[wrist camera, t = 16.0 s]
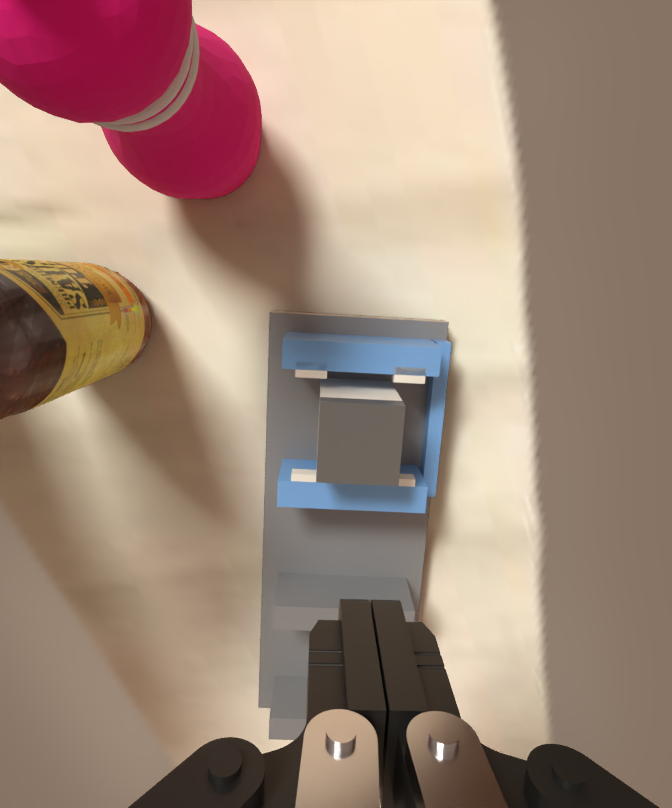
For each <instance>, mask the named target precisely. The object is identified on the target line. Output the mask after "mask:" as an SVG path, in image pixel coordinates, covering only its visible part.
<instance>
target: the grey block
mask: <svg viewBox="0 0 672 808" xmlns="http://www.w3.org/2000/svg"><path fill="white" fill-rule="evenodd" d="M405 407H406V406H405V404H404V402H403V401H402V399H401V398H400V396H399V394H398V393H397V391H396V389H395V388H394V386H393V384H392V383H391V381H380V380H360V379H340V378H327V379H321V382H320V403H319V423H318V444H317V470H316V482H317V483H340V484H363V485H386V486H399V476H400V464H401V453H402V441H403V430H404V418H405Z"/></svg>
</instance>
